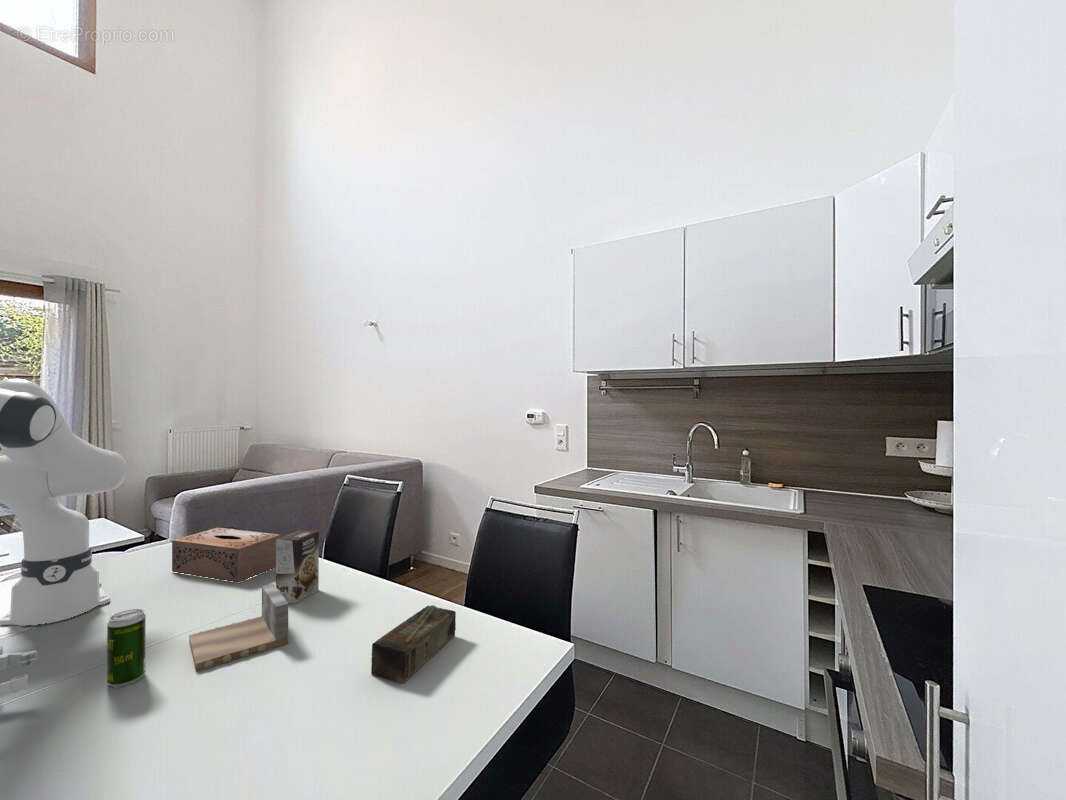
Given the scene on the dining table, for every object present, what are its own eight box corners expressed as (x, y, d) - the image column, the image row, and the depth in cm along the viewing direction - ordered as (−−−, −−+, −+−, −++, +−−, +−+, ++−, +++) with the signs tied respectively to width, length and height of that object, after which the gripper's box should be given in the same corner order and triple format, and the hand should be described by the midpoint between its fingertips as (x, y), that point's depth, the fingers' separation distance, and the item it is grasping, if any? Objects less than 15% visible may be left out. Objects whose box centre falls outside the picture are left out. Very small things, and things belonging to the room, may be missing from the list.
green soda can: (141, 668, 91) (142, 605, 91) (148, 678, 87) (148, 614, 87) (104, 680, 86) (104, 615, 86) (109, 692, 83) (110, 624, 83)
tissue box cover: (280, 566, 146) (280, 534, 146) (239, 584, 132) (239, 548, 132) (217, 558, 153) (217, 527, 153) (171, 573, 139) (172, 540, 139)
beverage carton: (457, 637, 103) (457, 607, 103) (403, 687, 85) (403, 651, 85) (426, 630, 106) (426, 601, 106) (368, 677, 88) (368, 642, 88)
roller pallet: (189, 641, 100) (189, 601, 100) (273, 619, 111) (273, 583, 111) (196, 672, 89) (196, 627, 89) (288, 644, 100) (288, 604, 100)
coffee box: (296, 604, 119) (296, 540, 119) (274, 601, 120) (274, 538, 120) (319, 589, 128) (320, 530, 128) (299, 587, 129) (299, 529, 129)
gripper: (-133, 717, 62) (21, 677, 71) (-80, 652, 78) (41, 626, 87) (-133, 765, 62) (21, 719, 71) (-80, 691, 78) (41, 661, 87)
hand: (32, 668), depth 79 cm, fingers open, 8 cm apart
